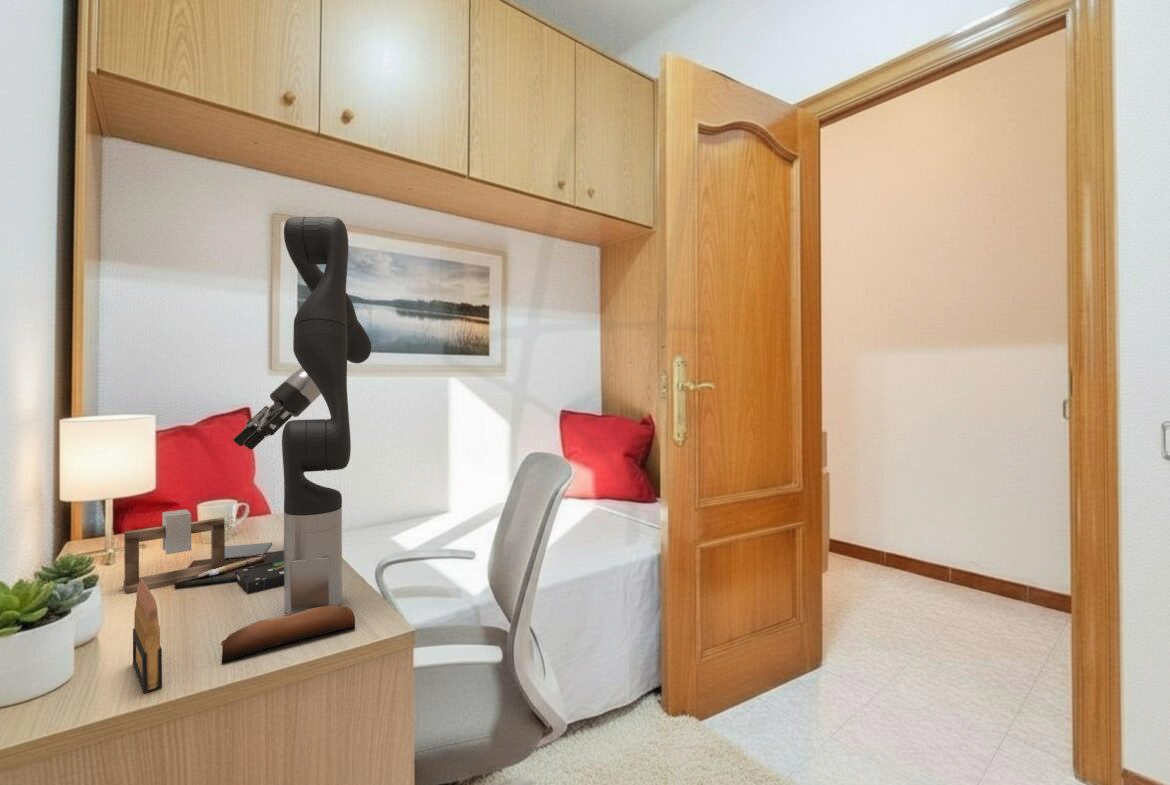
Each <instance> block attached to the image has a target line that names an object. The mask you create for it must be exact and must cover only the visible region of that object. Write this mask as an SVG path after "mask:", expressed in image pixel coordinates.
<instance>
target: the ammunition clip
mask: <svg viewBox="0 0 1170 785" xmlns="http://www.w3.org/2000/svg"><path fill="white" fill-rule="evenodd" d="M157 605H158V604H157V601H156V599H155V597H154V596H153V594H152V592H151V589H148V587H147V585H146V583H145V582H144V580H143V579H141V580H140V582H139V585H138V589H137V592H136V601H135V608H134V627H133V628H132V666H133V665H134V666H133V668H135V669H134V671H136V672H135V674H136V677H137V679H139V680H138V682H139V685H140V684H141V685H140V688H141V687H142V688H141V690H143V691H142V693H143V694H147V693H150V692H149V691H151V692H152V691H153V690H154V691H156V689H157V690H159V688H160V689H163V664H162V663H163V657H162V656H163V651H162V650H163V649H162V647H161V627H160V623H159V617H158V615H159V613H158V606H157ZM146 692H147V693H146Z"/></svg>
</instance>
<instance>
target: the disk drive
mask: <svg viewBox="0 0 1170 785" xmlns="http://www.w3.org/2000/svg"><path fill="white" fill-rule="evenodd" d="M236 578H237V582H238V583H237V582H236V583H237V584H238V585H239V586H240V588H241V589H242V590H243V592H244V593H246V595H249V594H254V593H258V592H263V591H267V590H271V589H276V588H280V587H284V559H283V560H279V561H273V562H268V563H264V564H263V563H262V564H258V565H253V566H248V567H242V568H240V569H239V568H238V569H236V570H235V579H236Z"/></svg>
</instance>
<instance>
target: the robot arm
mask: <svg viewBox="0 0 1170 785" xmlns="http://www.w3.org/2000/svg"><path fill="white" fill-rule="evenodd" d="M283 238H284V243H285V244H284V245H285V247H286V250H287V253H288V256H289V258H290V259H291V262H292V263H293V265H294V267H295V268H296V269H297V271H298V273H299V275H300V277H301V279H302V280H303V282H304V283H305V285H306V286H307V288H308V290H309V291H310V292H311V293H310V294H309V295H308V297H306V299H305V300H304V301H303V303H302V304H301V306H300V307H299V309H298V310H297V313H296V314H295V315H294V319H293V335H292V337H293V338H292V339H293V341H292V342H293V344H292V346H293V348H292V349H293V354H294V357H295V358H296V360H297V361H298V364H299V365H300V368H299V369H298V370H296V371H295V372H294V373H292V374H291V375H290V376H288V377H287V379H285V380H284V382H282V383H281V384H279V386H278V387H277V388H275V389H274V391H272V392H271V393H270V395H269V398H270V399H271V402H273V404H272V405H271V406H268V405H264V406H263V408H262V409H261V410H259V411H258V412H257V413H256V414H255V415H254V416H253V417H252V418H250V419H249V420H248V421H246V423H245V427H244V428H243V429H242V430H241V431H240V433H238V434H237V435H236V436H235V437H234V438H233V442H234V443H235V444H236V445H237V446H239V447H242V446H244V447H245V448H247V449H248V450H253V449H255V448H256V447H257V445H259V444H260V443H261V442H262V441H264V439H265V438H268V437H270V436H271V437H272V436H274V435H275V434H276V433H277V431H279V429H281V428H282V427H283V425H284V427H283V430H282V432H281V433H282V434H281V452H282V454H281V455H282V466H283V467H282V468H283V484H284V485H283V493H284V494H283V496H284V497H283V560H284V586H283V600H284V601H283V602H284V603H283V609H284V613H286V614H295V613H298V612H302V611H305V610H308V609H312V608H317V607H324V606H341V604H342V602H343V544H342V543H343V534H342V533H343V526H342V525H343V508H342V507H343V502H342V501H343V496H342V494H341V491H339V490H338V489H336V488H335V489H334V488H330V487H327V486H323V485H319V484H317V483H315V482H313V481H311V480H309V479H308V478H307V477H306V476H305V473H306V472H307V473H308V472H323V471H324V472H326V471H339V470H344V469H346V468H347V467H348V464H349V463H350V458H351V453H352V452H351V450H352V449H351V448H352V447H351V446H352V444H351V443H352V441H351V426H350V425H351V424H350V414H349V412H350V411H349V402H348V400H349V399H348V362H350V363H353V364H362V363H364V362H366V361H367V360H368V359H369V357H370V356H371V352H372V342H371V340H370V337H369V335H368V333H367V332H366V331H365V329H364V327H363V326H362V324H361V323H360V322H359V320H358V317H357V313H356V310H355V307H354V303H353V301H352V299H351V297H350V296H349V294H348V292H347V278H348V277H347V276H348V265H349V264H348V262H349V236H348V230H347V227H346V224H345V223H344V221H343V220H342V219H341V218H339V217H335V216H294V217H289V218H287V220H286V221H285V223H284V226H283ZM318 265H325V267H324V271H322V270H321V268H320V267H319V266H318ZM321 395H322V397H323V399H324V401H325V403H326V406H327V408H328V411H329V414H330V418H326V419H324V418H321V419H319V418H318V419H317V418H315V419H292V420H290V419H291V418H292V417H294V418H297V417H299V416H300V415H301V414H302V413H303V412H305V410H306V409H307V408H308V407H309V406H311V404H312V403H314V401H316V399H318V397H319V396H321ZM288 420H289V421H288Z"/></svg>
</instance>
